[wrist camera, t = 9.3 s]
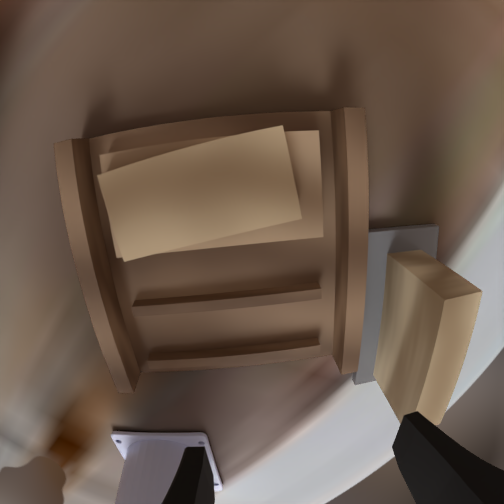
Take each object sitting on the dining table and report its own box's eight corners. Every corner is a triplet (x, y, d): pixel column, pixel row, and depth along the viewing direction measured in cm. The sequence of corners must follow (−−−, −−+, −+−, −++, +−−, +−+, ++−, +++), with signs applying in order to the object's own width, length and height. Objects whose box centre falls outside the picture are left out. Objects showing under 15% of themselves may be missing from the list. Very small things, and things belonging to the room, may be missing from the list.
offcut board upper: (296, 212, 15) (302, 218, 14) (131, 253, 15) (124, 261, 14) (278, 126, 14) (282, 125, 12) (106, 172, 14) (97, 175, 12)
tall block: (420, 249, 18) (482, 291, 12) (402, 367, 21) (440, 423, 15) (387, 253, 18) (444, 300, 12) (373, 374, 21) (406, 435, 15)
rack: (342, 343, 20) (357, 371, 17) (129, 363, 20) (118, 392, 17) (342, 112, 15) (364, 107, 13) (80, 142, 15) (53, 143, 12)
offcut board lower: (317, 230, 16) (323, 237, 15) (123, 250, 16) (116, 257, 15) (312, 131, 15) (318, 130, 14) (108, 153, 14) (99, 155, 13)
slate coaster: (412, 365, 21) (415, 370, 21) (352, 379, 21) (354, 385, 21) (433, 223, 18) (439, 226, 17) (363, 229, 18) (367, 232, 17)
